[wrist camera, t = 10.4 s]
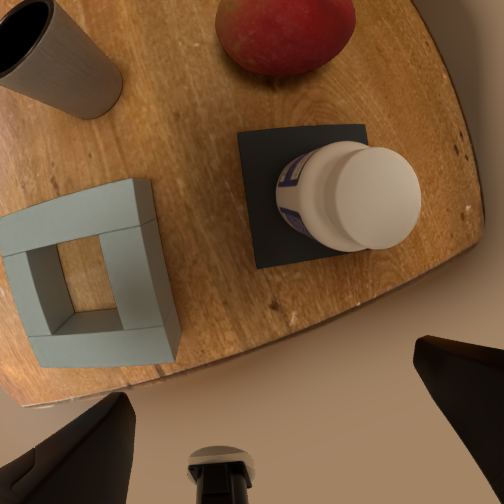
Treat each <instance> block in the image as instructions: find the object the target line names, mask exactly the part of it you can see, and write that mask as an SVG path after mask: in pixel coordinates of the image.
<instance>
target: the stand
mask: <svg viewBox="0 0 504 504" xmlns="http://www.w3.org/2000/svg"><path fill="white" fill-rule="evenodd" d="M98 234H99V239H100V244H101V248H102V253H103V257H104V261H105V265H106V269H107V273H108V277H109V281H110V285H111V288H112V292H113V296H114V299H115V302H116V306H117V308H116V309H108V310H99V311H90V312H81V313H74V309H73V306H72V303H71V300H70V297H69V293H68V290H67V287H66V283H65V280H64V276H63V272H62V269H61V265H60V261H59V256H58V252H57V248H56V244H58V243H62V242H66V241H70V240H75V239H79V238H84V237H88V236H93V235H98ZM0 251H1V256H2V257H3V258H2V260H3V264H4V268H5V272H6V275H7V279H8V282H9V286H10V289H11V293H12V296H13V299H14V302H15V305H16V308H17V311H18V314H19V316H20V319H21V322H22V325H23V327H24V330H25V332H26V335H27V336H28V337H27V338H28V340H29V342H30V345H31V347H32V349H33V352H34V354H35V356H36V358H37V361H38V363H39V365H40V367H46V368H97V367H122V366H139V365H152V364H164V363H174V362H175V359H176V355H177V351H178V347H179V343H180V339H181V335H182V330H181V327H180V323H179V319H178V315H177V311H176V307H175V303H174V299H173V295H172V290H171V286H170V282H169V277H168V273H167V268H166V264H165V259H164V254H163V249H162V244H161V239H160V234H159V229H158V223H157V219H156V212H155V207H154V201H153V194H152V188H151V181H150V180H148V179H139V178H128V179H124V180H120V181H116V182H112V183H108V184H104V185H100V186H97V187H93V188H89V189H86V190H82V191H79V192H75V193H72V194H68V195H65V196H62V197H58V198H55V199H52V200H49V201H46V202H43V203H40V204H37V205H34V206H31V207H28V208H25V209H22V210H19V211H17V212H14V213H11V214H8V215H6V216H3V217H0Z"/></svg>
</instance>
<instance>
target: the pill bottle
mask: <svg viewBox="0 0 504 504" xmlns="http://www.w3.org/2000/svg"><path fill="white" fill-rule="evenodd" d="M276 202H277V206H278V209H279V211H280V213H281V215H282V217H283V218H284V219H285V221H286V222H287V223H288V224H289V225H290V226H292V227H293V228H294V229H296V230H297V231H299V232H301V233H303V234H305V235H307V236H308V237H310V238H312V239H314V240H316V241H318V242H320V243H321V244H323V245H325V246H327V247H330V248H332V249H335V250H339V251H345V252H355V251H360V250H364V249H367V248H370V249H387V248H391V247H393V246H395V245H397V244H399V243H400V242H402V241H403V240H404V239H405V238H406V237H407V236H408V235H409V234H410V232H411V231H412V230H413V228H414V226H415V224H416V222H417V220H418V217H419V213H420V208H421V190H420V186H419V182H418V179H417V176H416V174H415V172H414V170H413V168H412V167H411V166H410V164H409V163H408V162H407V161H406V160H405V159H404V158H403V157H402V156H401V155H399V154H398V153H396V152H394V151H392V150H390V149H387V148H382V147H369V146H367V145H365V144H362V143H358V142H352V141H341V142H335V143H332V144H328V145H326V146H323V147H321V148H318V149H316V150H314V151H311V152H309V153H307V154H304V155H302V156H300V157H298V158H296V159H295V160H293V161H292V162H290V163H289V164H288V165H287V166H286V167H285V168H284V170H283V171H282V173H281V175H280V177H279V179H278V183H277V187H276Z"/></svg>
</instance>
